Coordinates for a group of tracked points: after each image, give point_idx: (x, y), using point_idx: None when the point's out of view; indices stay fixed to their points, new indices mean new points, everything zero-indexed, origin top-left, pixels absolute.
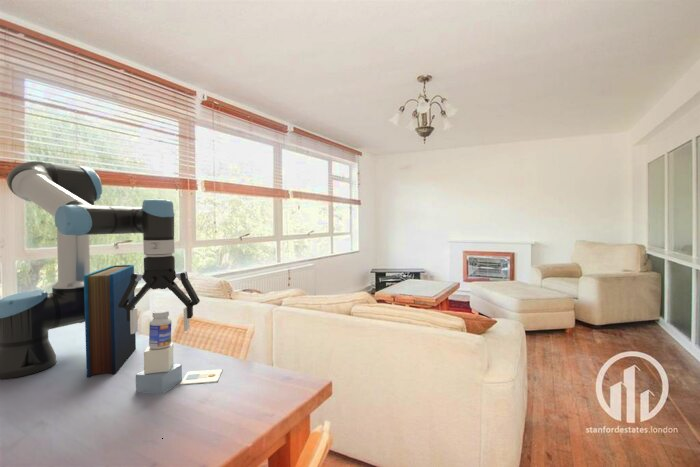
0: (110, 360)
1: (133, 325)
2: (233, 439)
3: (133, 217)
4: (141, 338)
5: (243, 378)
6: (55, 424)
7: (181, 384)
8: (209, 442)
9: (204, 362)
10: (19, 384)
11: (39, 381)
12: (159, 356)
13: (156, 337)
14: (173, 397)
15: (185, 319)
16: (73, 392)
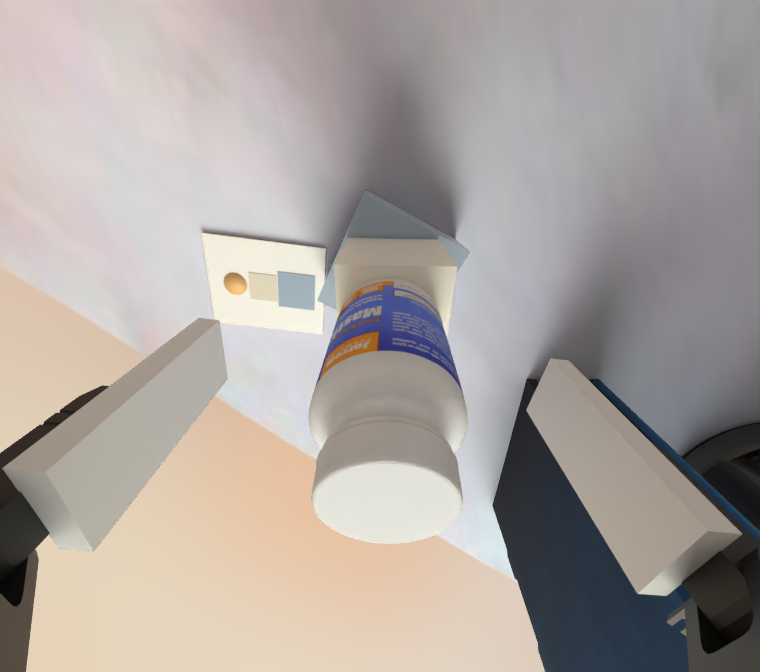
0: None
1: (583, 398)
2: None
3: None
4: (486, 553)
5: (118, 235)
6: (684, 47)
7: (320, 248)
8: None
9: (291, 388)
10: (755, 383)
11: (710, 387)
12: (380, 255)
13: (400, 306)
14: (323, 149)
15: (143, 369)
16: (630, 292)
